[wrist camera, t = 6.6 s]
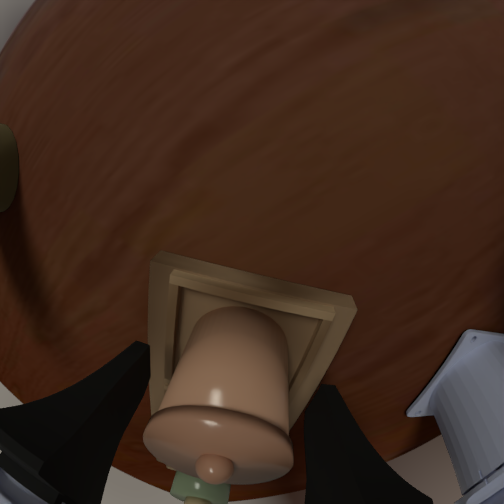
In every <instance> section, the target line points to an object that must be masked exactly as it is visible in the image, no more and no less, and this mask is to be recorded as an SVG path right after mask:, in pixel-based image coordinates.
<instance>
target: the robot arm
mask: <svg viewBox="0 0 504 504" xmlns="http://www.w3.org/2000/svg"><path fill="white" fill-rule="evenodd" d="M150 378H151V367H150V345H148V344H145V343H142V342H139V341H135V342H134V343H132V344H131V345H130V346H129V347H128V348H126V349H125V350H124V351H123V352H121V353H120V354H119V355H117V356H116V357H115V358H114V359H112V360H111V361H109V362H108V363H107V364H105V365H104V366H103V367H101V368H100V369H98V370H97V371H95V372H94V373H92V374H91V375H89V376H87V377H86V378H84V379H83V380H81V381H79V382H78V383H76V384H74V385H72V386H70V387H68V388H66V389H64V390H62V391H60V392H57V393H55V394H53V395H51V396H48V397H45V398H43V399H39V400H36V401H33V402H30V403H26V404H22V405H18V406H12V407H7V408H0V450H1V451H2V452H1V454H0V504H101V500H102V496H103V492H104V488H105V484H106V481H107V477H108V473H109V471H110V467H111V464H112V461H113V458H114V456H115V453H116V450H117V447H118V445H119V442H120V440H121V438H122V435H123V433H124V431H125V430H126V428H127V426H128V424H129V422H130V420H131V418H132V416H133V415H134V413H135V411H136V409H137V407H138V405H139V403H140V402H141V400H142V398H143V396H144V393H145V391H146V388H147V386H148V383H149V380H150ZM406 414H407V416H408V417H418V416H431V415H434V416H435V419H436V421H437V424H438V426H439V429H440V431H441V434H442V436H443V439H444V442H445V444H446V447H447V450H448V453H449V455H450V458H451V461H452V464H453V467H454V470H455V473H456V476H457V480H458V483H459V486H460V489H461V493H462V495H464V496H463V497H462V498H460V499H459V500H457V501H456V502H454V504H504V334H501V333H494V332H487V331H480V330H473V329H468V330H466V331H465V332H464V333H463V334H462V336H461V338H460V339H459V341H458V342H457V344H456V346H455V347H454V349H453V350H452V352H451V353H450V355H449V356H448V358H447V359H446V361H445V362H444V364H443V365H442V366H441V368H440V369H439V371H438V372H437V373H436V375H435V376H434V377H433V379H432V380H431V381H430V383H429V384H428V385H427V387H426V388H425V389H424V390H423V392H422V393H421V394H420V395H419V397H418V398H417V399H416V400H415V401H414V403H413V404H412V405H411V406H410V407H409V408H408V410H407V411H406ZM304 442H305V457H306V473H307V482H306V495H305V504H433V501H432V499H431V498H430V497H428V496H426V495H425V494H423V493H422V492H420V491H419V490H417V489H416V488H414V487H413V486H412V485H410V484H409V483H408V482H406V481H405V480H404V479H403V478H402V477H400V476H399V475H398V474H397V473H396V472H395V471H394V470H393V469H392V468H391V467H390V466H389V465H388V464H387V463H386V462H385V461H384V460H383V459H382V457H381V456H380V455H379V454H378V453H377V451H376V450H375V449H374V448H373V446H372V445H371V444H370V442H369V441H368V440H367V438H366V437H365V435H364V434H363V432H362V431H361V429H360V428H359V426H358V424H357V423H356V421H355V419H354V418H353V416H352V414H351V413H350V411H349V409H348V407H347V406H346V404H345V402H344V400H343V399H342V397H341V395H340V393H339V391H338V390H337V388H336V386H335V385H326V384H322V385H321V386H320V388H319V390H318V391H317V393H316V395H315V396H314V398H313V400H312V401H311V403H310V404H309V406H308V408H307V409H306V411H305V420H304Z"/></svg>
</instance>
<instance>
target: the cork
mask: <svg viewBox="0 0 504 504" xmlns="http://www.w3.org/2000/svg"><path fill="white" fill-rule="evenodd" d="M18 175H19V156H18V150H17V144H16V141H15V138H14V135H13V133H12V131H11V130H10V128H9V127H8V126H7V125H5V124H1V123H0V212H3V211H5V210H6V209H8V208H9V207H10V205H11V203H12V201H13V199H14V196H15V193H16V189H17V184H18Z"/></svg>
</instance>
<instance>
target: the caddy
mask: <svg viewBox="0 0 504 504" xmlns="http://www.w3.org/2000/svg"><path fill="white" fill-rule="evenodd" d="M228 306H240V307H247V308H251V309H255V310H257V311H260V312H262V313H264V314H266V315H268V316H269V317H271V318H272V319H273V320H274V321H276V322H277V323H278V325H279V326H280V327H281V328H282V330H283V331H284V333H285V336H286V339H287V344H288V387H289V431H290V429H291V428H292V426H293V425H294V423H295V422H296V420H297V419H298V417H299V416H300V414H301V412H302V411H303V409H304V408H305V406H306V404H307V403H308V401H309V400H310V398H311V396H312V395H313V393H314V391H315V390H316V388H317V386H318V385H319V383H320V381H321V379H322V378H323V376H324V374H325V372H326V370H327V369H328V367H329V365H330V363H331V361H332V360H333V358H334V356H335V354H336V352H337V350H338V348H339V346H340V344H341V342H342V340H343V338H344V336H345V334H346V332H347V330H348V328H349V326H350V324H351V322H352V320H353V318H354V316H355V314H356V312H357V307H356V305H355V303H354V301H353V298H352V296H350V295H346V294H341V293H337V292H332V291H328V290H323V289H319V288H314V287H310V286H305V285H301V284H296V283H292V282H288V281H283V280H279V279H275V278H271V277H266V276H262V275H258V274H254V273H249V272H245V271H241V270H237V269H233V268H229V267H225V266H221V265H217V264H212V263H208V262H204V261H200V260H196V259H192V258H188V257H184V256H181V255H177V254H173V253H169V252H165V251H160V252H159V253H158V254H157V255H156V256H155V257H154V258H153V259H152V260H151V261H150V274H149V296H148V345H150V367H151V378H150V380H149V388H150V403H151V415H153V414H154V413H155V412H157V411H158V410H159V407H160V405H161V403H162V400H163V398H164V395H165V393H166V391H167V388H168V386H169V383H170V381H171V379H172V376H173V374H174V372H175V369H176V367H177V364H178V362H179V360H180V357H181V355H182V353H183V350H184V348H185V346H186V344H187V341H188V339H189V337H190V334H191V332H192V330H193V327H194V326H195V324H196V322H197V321H198V320H199V319H200V318H201V317H202V316H203V315H205V314H206V313H208V312H210V311H212V310H214V309H217V308H221V307H228ZM157 461H159V462H161V461H160V460H159V459H157ZM167 468H169V469H172V470H175V469H173V468H171V467H170V466H168V465H167ZM175 471H177V470H175Z"/></svg>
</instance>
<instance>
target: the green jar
mask: <svg viewBox="0 0 504 504" xmlns="http://www.w3.org/2000/svg"><path fill="white" fill-rule="evenodd" d="M230 486H231V484H225V483H223V484H217V485H214V484H209V483H206V482H204V481H203V480H201V479H199V478H196V477H193V476H190V475H187V474H184V473H182V472H180V471H176V474H175V478H174V481H173V485H172V488H171V491H170V494H171V495H172V496H173V497H175V498H177V499H179V500H181V501H184V504H228V498H229V492H230Z"/></svg>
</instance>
